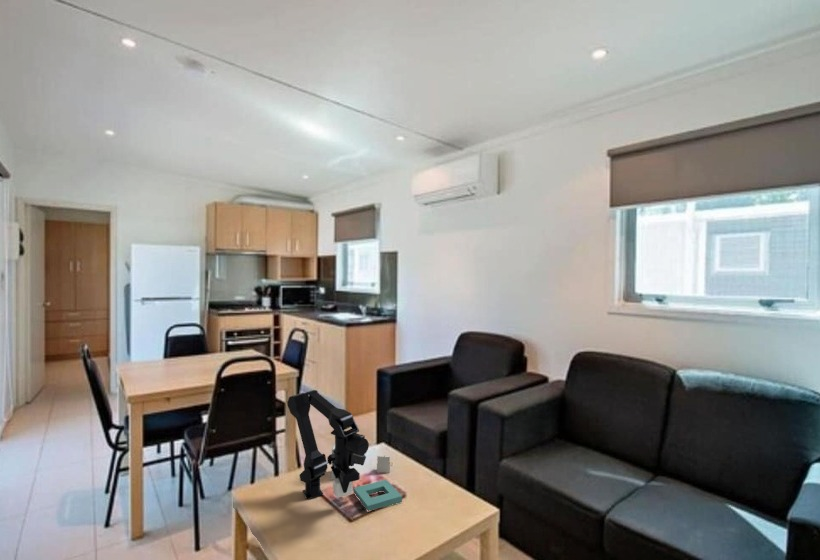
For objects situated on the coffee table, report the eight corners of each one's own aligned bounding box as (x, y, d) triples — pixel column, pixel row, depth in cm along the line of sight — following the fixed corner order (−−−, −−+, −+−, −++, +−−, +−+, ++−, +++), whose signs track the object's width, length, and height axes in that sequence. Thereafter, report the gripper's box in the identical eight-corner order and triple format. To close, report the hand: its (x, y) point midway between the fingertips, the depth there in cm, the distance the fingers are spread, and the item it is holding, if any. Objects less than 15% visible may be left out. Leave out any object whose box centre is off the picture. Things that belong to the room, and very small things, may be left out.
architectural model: (378, 469, 185) (378, 452, 184) (393, 470, 184) (393, 453, 184) (376, 473, 181) (376, 456, 181) (392, 474, 180) (392, 457, 180)
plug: (333, 492, 154) (333, 478, 154) (348, 488, 157) (348, 474, 157) (336, 497, 151) (336, 483, 150) (352, 493, 153) (352, 479, 153)
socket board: (353, 494, 164) (353, 487, 163) (386, 485, 170) (386, 479, 170) (367, 512, 151) (367, 505, 151) (402, 502, 158) (402, 495, 158)
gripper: (373, 453, 149) (373, 496, 149) (354, 434, 165) (354, 473, 166) (343, 460, 144) (343, 504, 144) (327, 440, 160) (327, 480, 160)
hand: (342, 489), depth 154 cm, fingers closed on plug, 4 cm apart
